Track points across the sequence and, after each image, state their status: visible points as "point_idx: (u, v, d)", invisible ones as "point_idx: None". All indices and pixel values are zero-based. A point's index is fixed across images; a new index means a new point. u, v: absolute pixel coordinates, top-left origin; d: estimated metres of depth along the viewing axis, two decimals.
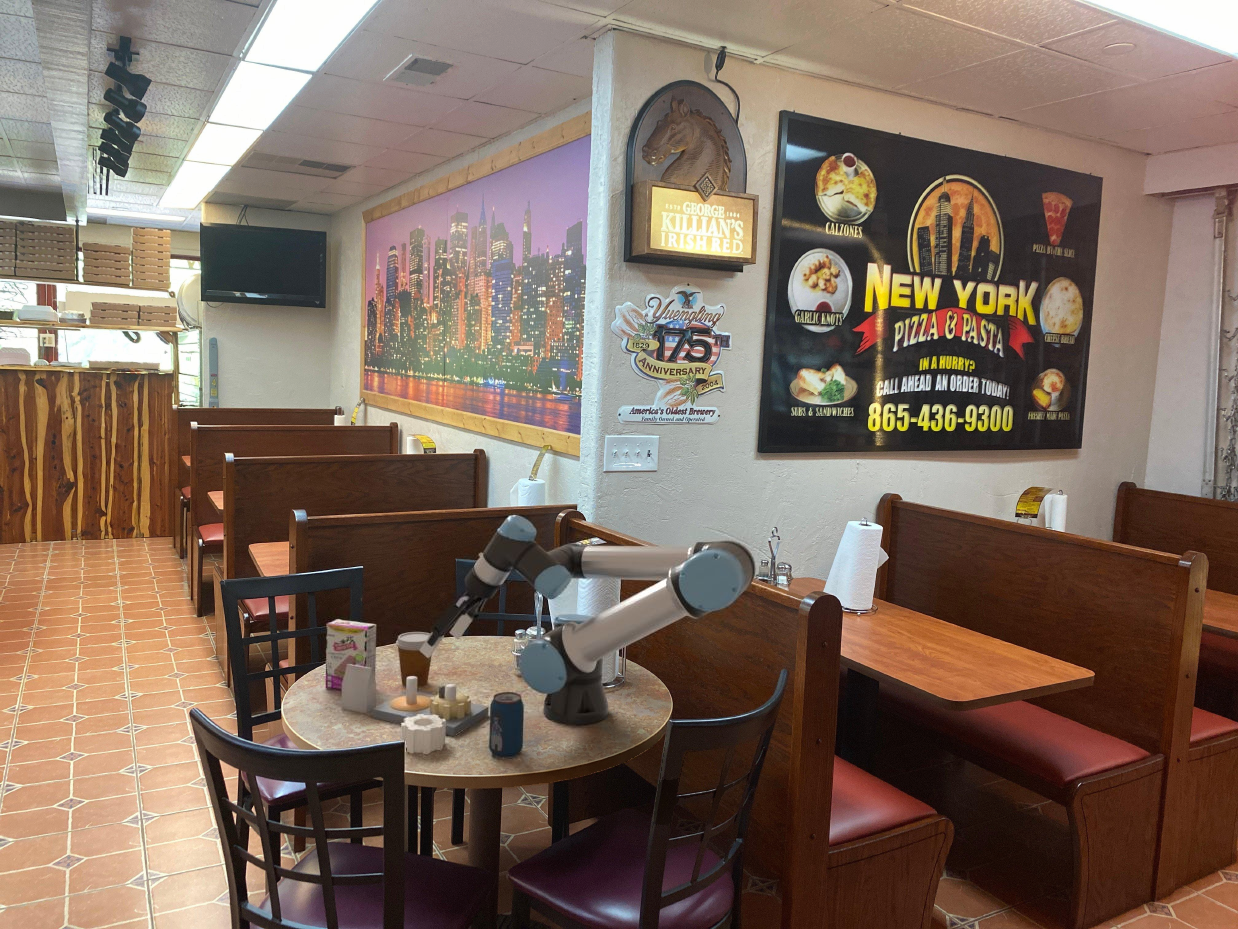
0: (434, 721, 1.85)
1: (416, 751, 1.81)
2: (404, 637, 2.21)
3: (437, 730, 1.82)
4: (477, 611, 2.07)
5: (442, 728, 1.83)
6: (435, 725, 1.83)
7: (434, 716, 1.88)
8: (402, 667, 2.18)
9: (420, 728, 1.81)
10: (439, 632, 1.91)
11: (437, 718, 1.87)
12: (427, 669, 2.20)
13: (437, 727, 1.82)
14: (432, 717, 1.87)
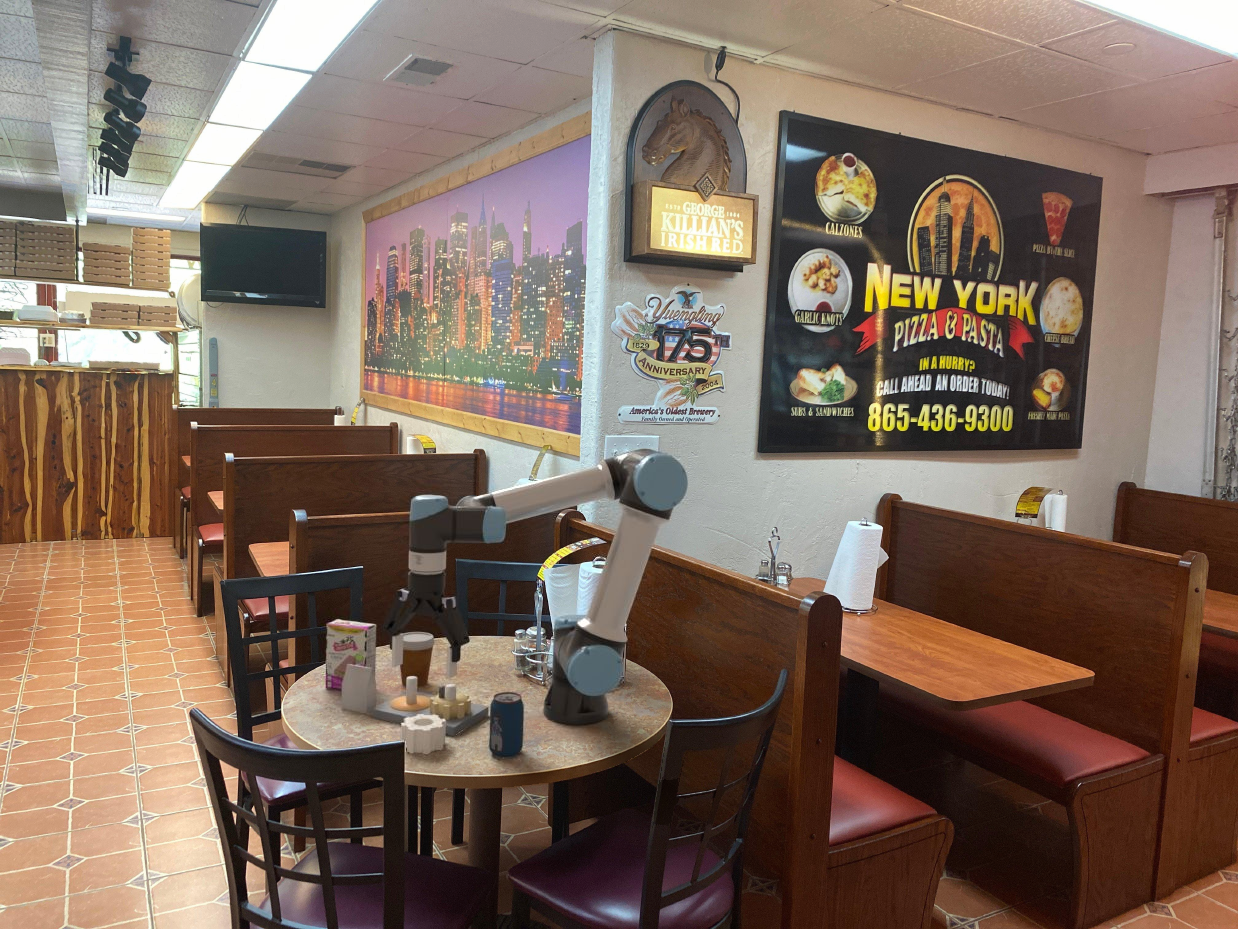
0: (434, 721, 1.85)
1: (416, 751, 1.81)
2: (404, 637, 2.21)
3: (437, 730, 1.82)
4: None
5: (442, 728, 1.83)
6: (435, 725, 1.83)
7: (434, 716, 1.88)
8: (402, 667, 2.18)
9: (420, 728, 1.81)
10: (467, 637, 1.80)
11: (437, 718, 1.87)
12: (427, 669, 2.20)
13: (437, 727, 1.82)
14: (432, 717, 1.87)
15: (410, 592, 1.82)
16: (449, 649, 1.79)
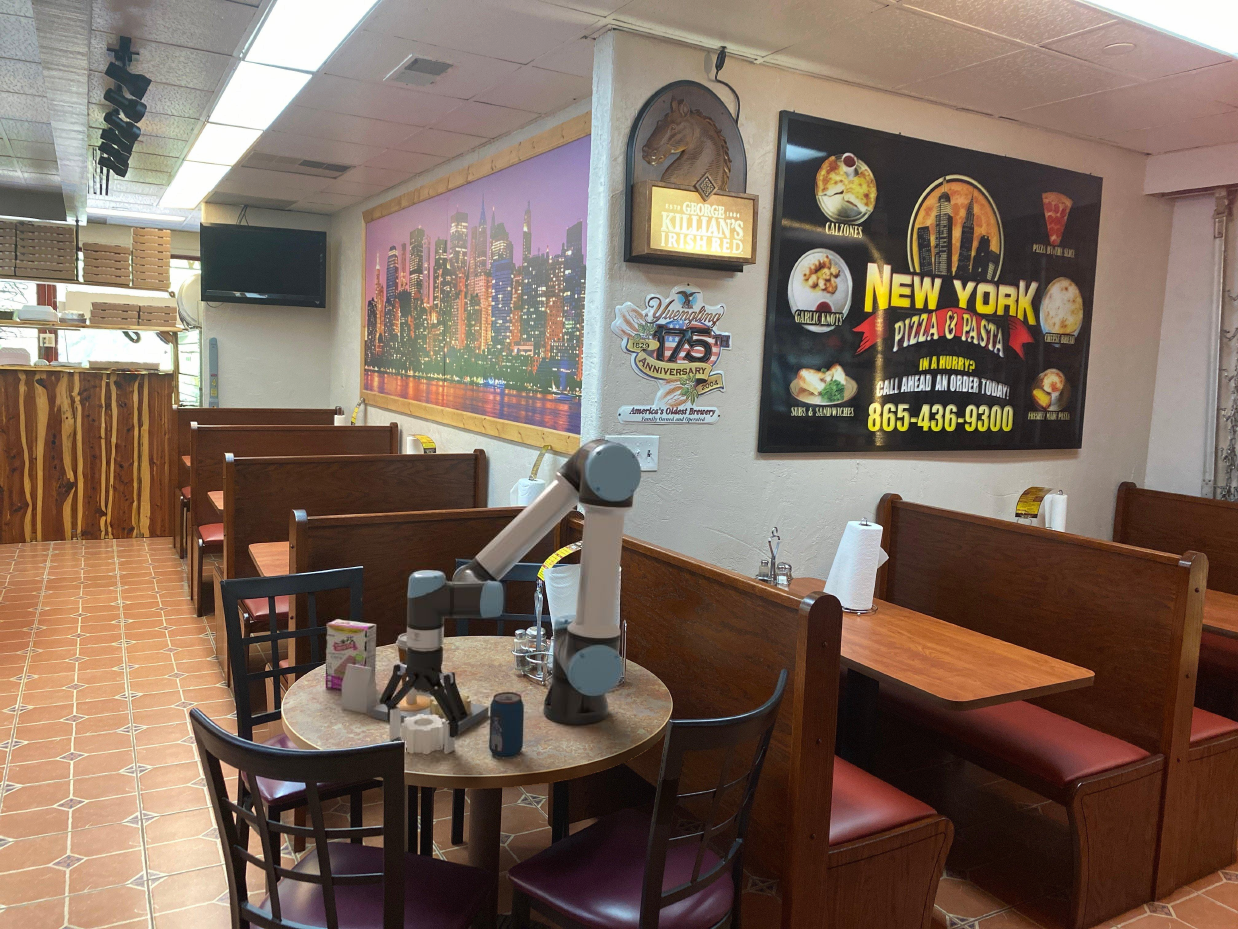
0: (434, 721, 1.85)
1: (416, 751, 1.81)
2: (404, 637, 2.21)
3: (437, 730, 1.82)
4: None
5: (442, 728, 1.83)
6: (435, 725, 1.83)
7: (434, 716, 1.88)
8: None
9: (420, 728, 1.81)
10: (465, 712, 1.81)
11: (437, 718, 1.87)
12: None
13: (437, 727, 1.82)
14: (432, 717, 1.87)
15: (408, 667, 1.83)
16: (447, 725, 1.80)
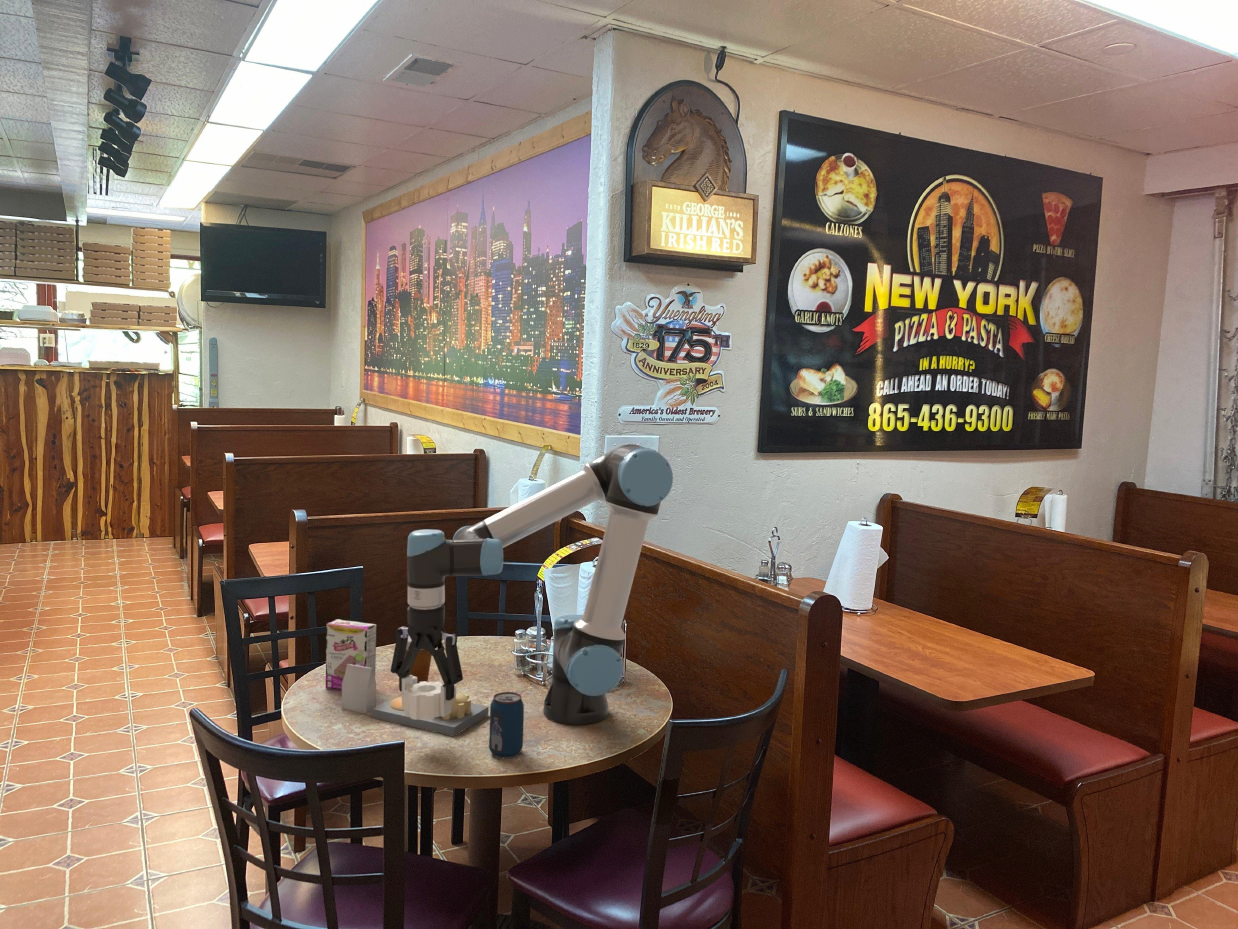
0: (437, 687, 1.84)
1: (420, 717, 1.80)
2: None
3: (440, 696, 1.82)
4: None
5: None
6: (438, 691, 1.82)
7: (437, 683, 1.87)
8: None
9: (423, 694, 1.80)
10: (460, 675, 1.81)
11: (440, 685, 1.86)
12: (427, 669, 2.20)
13: (440, 693, 1.82)
14: (435, 684, 1.86)
15: (409, 627, 1.83)
16: (443, 688, 1.80)
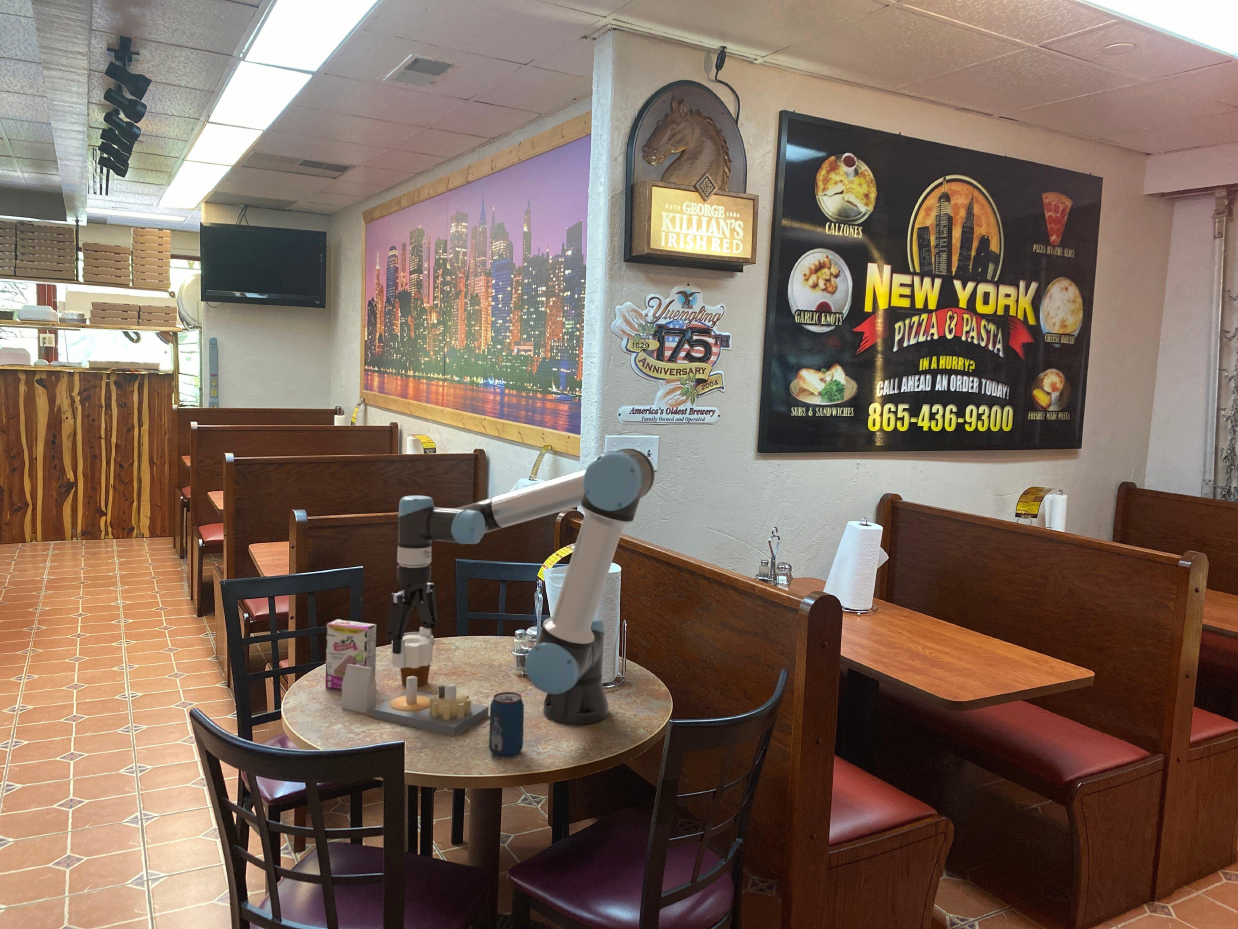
0: (412, 637, 2.03)
1: None
2: None
3: None
4: None
5: None
6: (421, 637, 2.04)
7: None
8: None
9: (427, 641, 2.01)
10: None
11: (405, 637, 2.04)
12: (427, 669, 2.20)
13: (425, 637, 2.05)
14: None
15: (408, 588, 1.97)
16: (430, 630, 2.05)
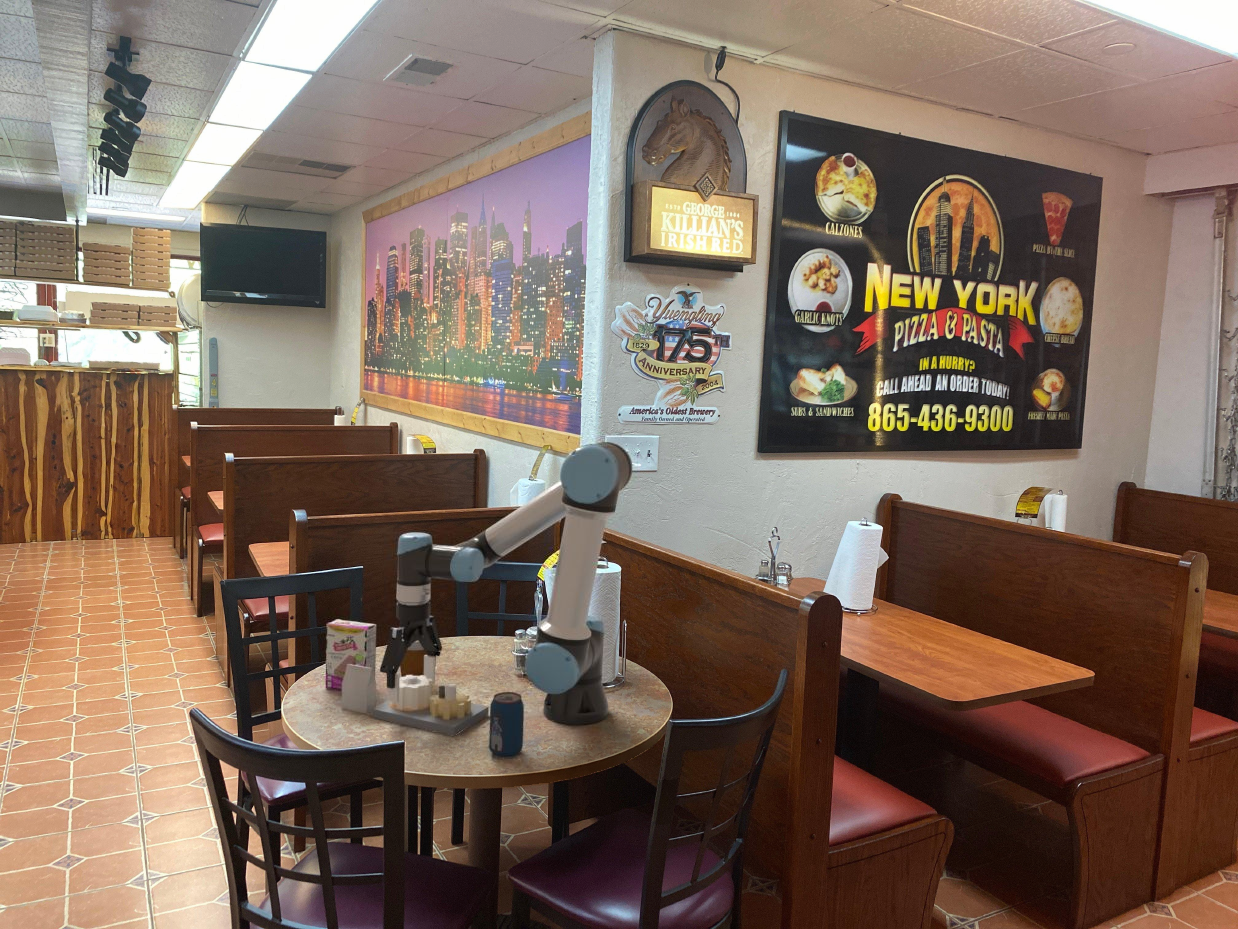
0: None
1: None
2: None
3: None
4: None
5: None
6: (421, 677, 2.05)
7: None
8: (402, 667, 2.18)
9: (426, 681, 2.02)
10: None
11: (404, 677, 2.05)
12: None
13: (424, 677, 2.05)
14: (401, 678, 2.03)
15: (408, 625, 1.97)
16: (434, 658, 2.08)
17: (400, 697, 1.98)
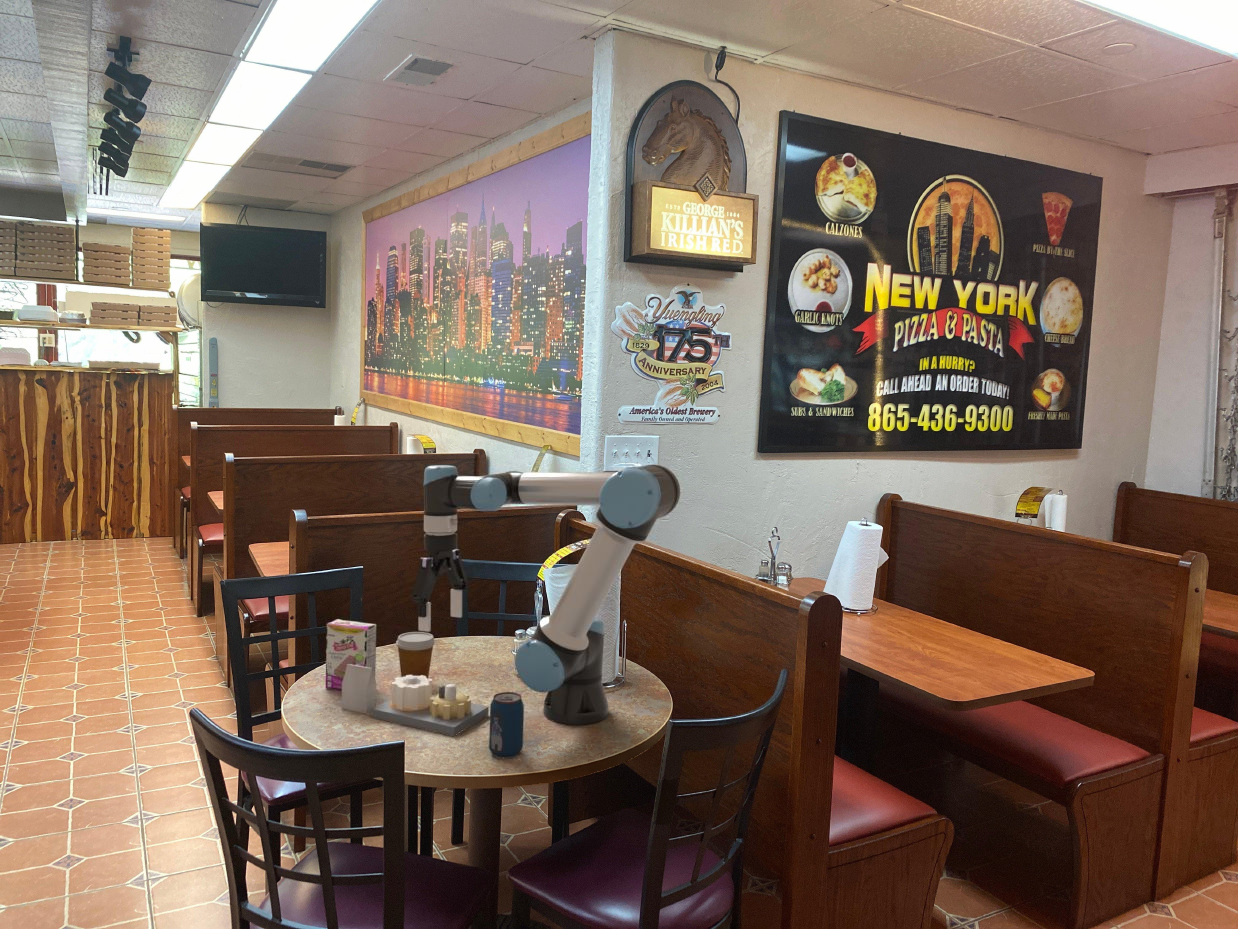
0: None
1: None
2: (404, 637, 2.21)
3: None
4: None
5: None
6: (421, 677, 2.05)
7: (399, 678, 2.04)
8: (402, 667, 2.18)
9: (426, 681, 2.02)
10: None
11: (404, 677, 2.05)
12: (427, 669, 2.20)
13: (424, 677, 2.05)
14: (401, 678, 2.03)
15: (437, 556, 2.00)
16: (461, 591, 2.10)
17: (400, 697, 1.98)
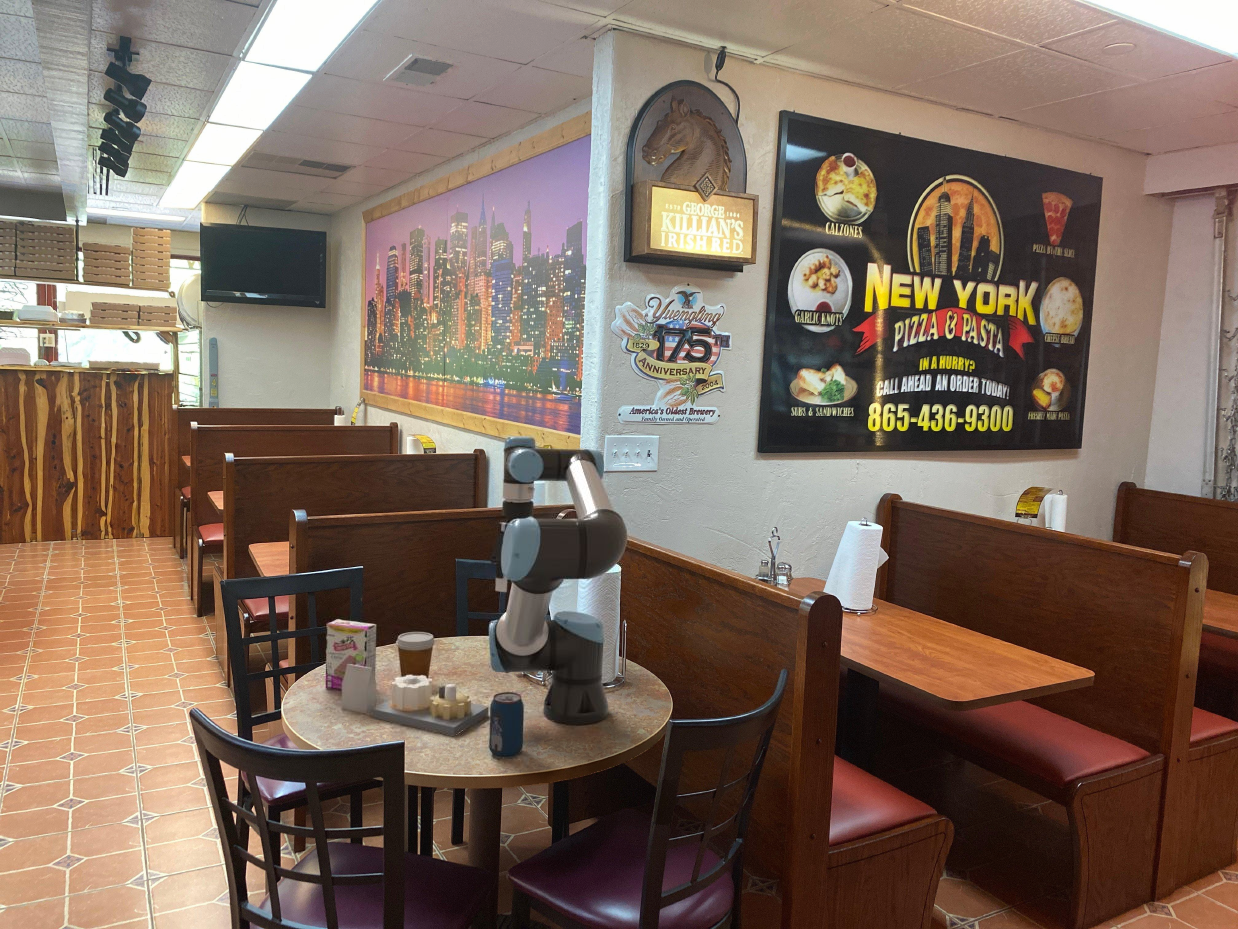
0: None
1: None
2: (404, 637, 2.21)
3: None
4: None
5: None
6: (421, 677, 2.05)
7: (399, 678, 2.04)
8: (402, 667, 2.18)
9: (426, 681, 2.02)
10: None
11: (404, 677, 2.05)
12: (427, 669, 2.20)
13: (424, 677, 2.05)
14: (401, 678, 2.03)
15: None
16: None
17: (400, 697, 1.98)
